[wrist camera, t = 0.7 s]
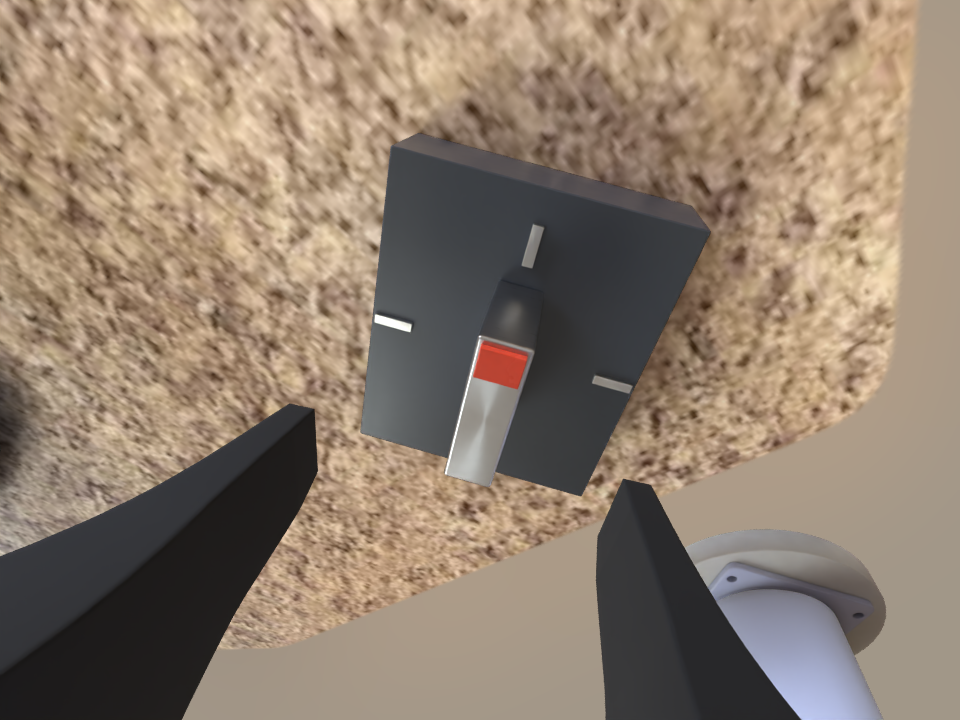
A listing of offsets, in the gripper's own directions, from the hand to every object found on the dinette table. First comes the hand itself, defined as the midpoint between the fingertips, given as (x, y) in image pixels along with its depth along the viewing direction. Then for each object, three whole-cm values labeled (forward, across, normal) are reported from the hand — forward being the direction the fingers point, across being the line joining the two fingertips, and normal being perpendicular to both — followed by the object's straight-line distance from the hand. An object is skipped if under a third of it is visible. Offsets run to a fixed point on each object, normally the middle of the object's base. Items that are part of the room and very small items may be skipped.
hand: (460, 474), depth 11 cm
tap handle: (+7, 0, +1) cm, 7 cm away
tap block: (+10, 0, +1) cm, 10 cm away
